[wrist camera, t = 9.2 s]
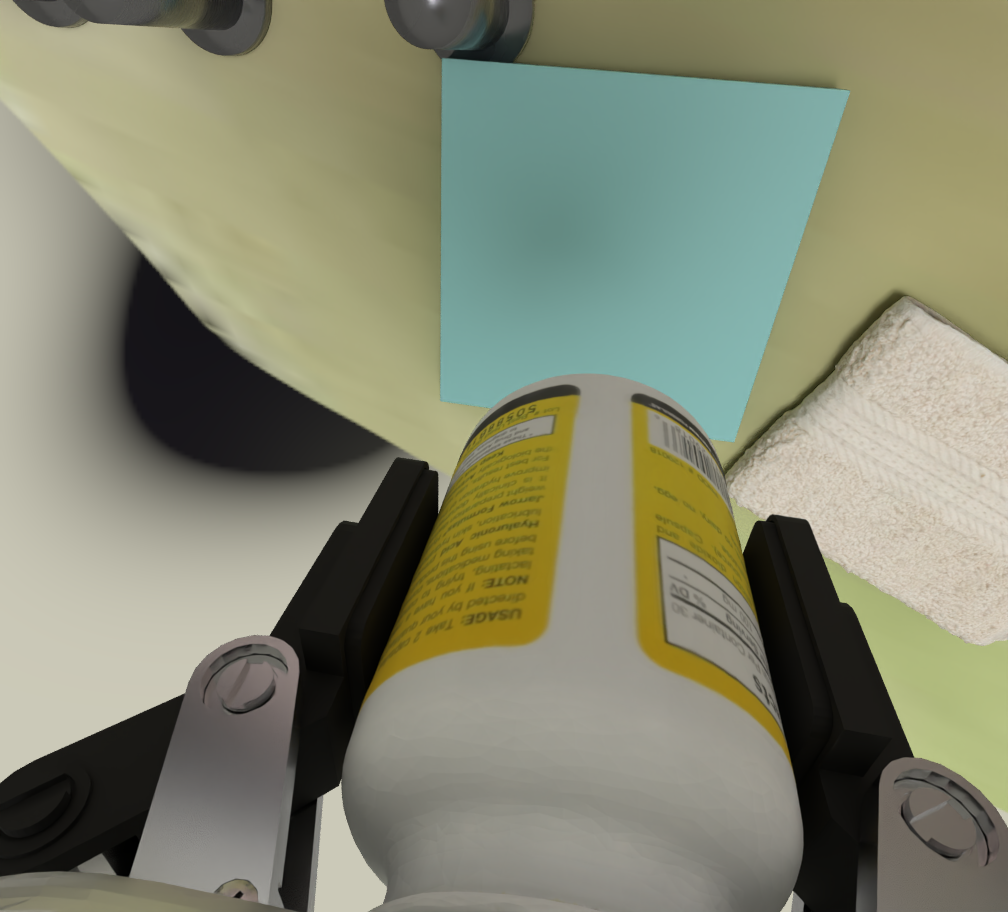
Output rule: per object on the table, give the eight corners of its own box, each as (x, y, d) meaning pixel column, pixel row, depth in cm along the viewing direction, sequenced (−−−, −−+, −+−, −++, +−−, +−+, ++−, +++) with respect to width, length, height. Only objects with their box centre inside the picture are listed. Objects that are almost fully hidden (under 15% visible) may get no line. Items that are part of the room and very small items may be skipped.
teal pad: (451, 57, 23) (441, 58, 22) (837, 88, 21) (850, 90, 20) (447, 387, 31) (440, 401, 29) (729, 425, 29) (734, 442, 28)
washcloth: (969, 623, 34) (997, 669, 31) (706, 474, 32) (713, 511, 29) (1203, 483, 27) (1261, 526, 25) (893, 280, 25) (923, 306, 22)
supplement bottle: (455, 550, 15) (244, 1163, 7) (473, 342, 11) (112, 1017, 3) (681, 595, 14) (753, 1311, 6) (762, 392, 11) (1123, 1294, 3)
